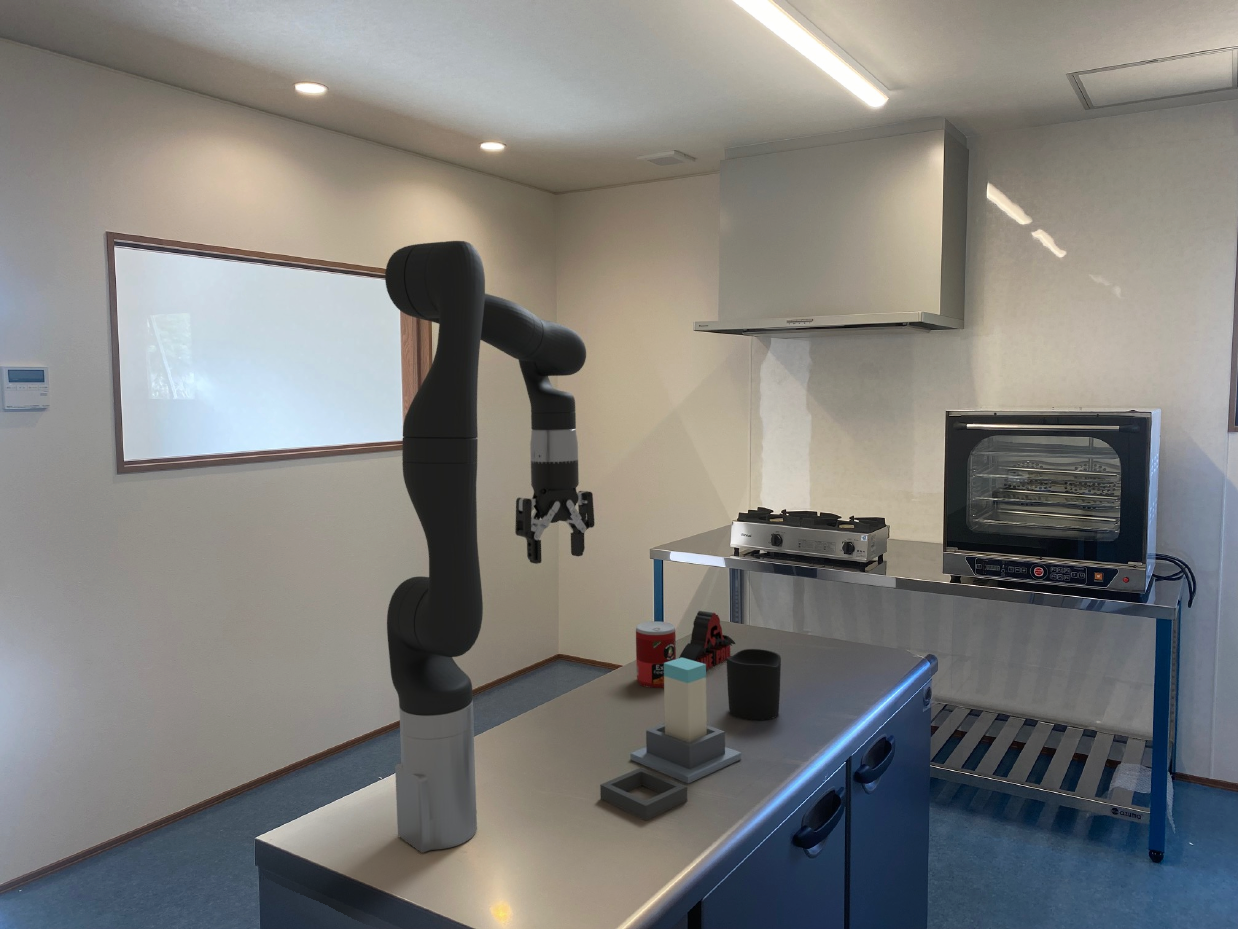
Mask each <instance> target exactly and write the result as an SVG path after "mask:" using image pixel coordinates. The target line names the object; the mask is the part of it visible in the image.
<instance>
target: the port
mask: <svg viewBox="0 0 1238 929" xmlns="http://www.w3.org/2000/svg"><path fill="white" fill-rule="evenodd" d="M645 740H646V742H645V744H646V746H645V747H643V748H640V749H637V750H635V751H633V752H630V760H631V761H633V762H636V763H638V764H641V765H643V766H645V767H648V768H650V769H653V770H654V771H657V772H659V773H662V774H664V775H666V776H669V777H671V778H673V779H676V780H679V781H680V782H683V783H685V784H691V783H692V782H694V781H697V780H699V779H702V778H703V777H705V776H707V775H710V774H712V773H714V772H717V771H718V770H720V769H723V768H725V767H727V766H730V765H732V764H733V763H736V762H738V761H740V760H742V752H741V751H738V750H735V749H732V748H729V747H726V731H724V730H721V729H719V728H716V727H713V726H710V725H709V724H708V725H707V735H706V736H704V737H701V738H699V739H696V740H694V741H692V742H686V741H683V740H681V739H678V738H675V737H673V736H670V735H667V734H665V722H664V723H661V724H659V725H655V726H654V727H650V728H648V729H646V730H645Z"/></svg>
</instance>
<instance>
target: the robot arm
mask: <svg viewBox="0 0 1238 929" xmlns="http://www.w3.org/2000/svg"><path fill="white" fill-rule="evenodd" d="M387 261H388V262H387V263H386V267H385V275H384V280H385V288H386V291H387V294H388V296H389V298H390V300H391V302H392V304H393V305H394V306H395V308H397V310H399V311H400V312H401V313H403V314H405V315H406V316H408V317H412V318H416V319H420V320H423V321H427V322H431V323H434V324H438V334H437V346H436V351H435V355H434V356H433V360H432V364H431V365H430V366H431V367H430V368H429V370H428V372H427V374H426V376H425V378H424V379H423V381H422V383H421V385H420V387H419V388H418V390H417V391H416V393H415V395H414V397H413V399H412V401H411V403H410V405H409V407H408V410H407V412H406V415H405V417H404V419H403V420H404V421H403V426H402V448H401V449H402V450H401V451H402V456H401V458H402V459H401V460H402V463H401V464H402V476H403V481H404V485H405V488H406V491H407V494H408V496H409V499H410V501H411V504H412V505H413V508H414V510H415V512H416V515H417V517H418V520H419V522H420V524H421V527H422V530H423V533H424V536H425V539H426V543H427V550H428V576H413V577H409V578H407V579H405V580H404V581H403V582H401V583H400V584H399V585H398V586H397V587H396V588H395V590H394V592H393V593H392V595H391V598H390V601H389V604H388V607H387V608H388V609H387V615H386V633H387V634H386V635H387V645H388V658H389V667H390V669H389V670H390V676H391V680H392V684H393V687H394V689H395V691H396V693H397V696H398V705H399V706H398V708H399V732H400V733H399V734H400V735H399V737H400V760H401V762H400V763H397V764H396V765H395V767H394V772H395V773H394V774H395V775H394V776H395V793H396V794H395V795H396V796H395V797H396V817H397V818H396V822H397V837H399V836H400V837H401V838H402V839H401V838H400V837H399V838H400V839H401V840H403V839H404V840H405V841H404V840H403V841H404V842H406V843H407V842H408V843H409V844H408V843H407V844H408V845H410V844H411V845H413V846H412V847H413V848H414V847H415V848H416V849H415V848H414V849H415V850H417V851H418V850H419V851H418V852H419V853H422V852H423V853H426V852H429V851H432V850H433V851H434V850H443V849H445V850H446V849H450V848H453V847H457V846H459V845H461V844H465V842H467V841H469V840H471V838H473V837H474V836H475V835H476V833H477V830H478V822H477V820H478V818H477V815H478V811H477V792H476V791H477V789H476V760H475V759H476V758H475V736H474V734H475V732H474V731H475V730H474V728H475V727H474V705H473V704H474V699H473V684H472V680H471V678H470V677H469V676H468V674H467V673H466V672H465V671H463V670H462V668H460V667H459V665H458V664H457V663H456V661H455V660H454V658H457V657H461V656H463V655H465V654H466V653H468V651H470V650H471V649H472V648H473V646H474V645H475V643H476V641H477V640H478V637H479V636H480V635H479V634H480V632H481V629H482V623H483V622H482V621H483V614H484V613H483V612H484V611H483V610H484V608H483V607H484V606H483V604H484V602H483V592H482V590H483V589H482V578H481V570H480V557H479V547H478V546H479V545H478V520H477V519H478V512H477V511H478V510H477V479H478V478H477V477H478V436H479V435H478V386H479V385H478V384H479V382H478V381H479V380H478V378H479V364H480V363H479V360H480V350H481V349H480V348H481V341H482V342H484V343H486V344H489V345H490V346H492V347H493V348H496V349H497V350H499V351H501V352H502V353H504V354H506V355H508V356H510V357H512V358H514V359H515V360H518V364H519V368H520V372H521V374H522V378H523V381H524V383H525V388H526V392H527V396H528V399H529V402H530V418H531V419H530V421H531V422H530V423H531V424H530V426H531V427H530V428H531V430H530V432H531V433H530V442H529V443H530V444H529V446H530V481H531V483H530V484H531V485H530V486H531V488H532V490H533V495H532V498H527V497H517V498H516V501H515V526H514V527H515V528H514V530H515V531H514V532H515V535H516V536H518V537H522V538H525V540H526V554H527V556H526V557H527V560H529V562H530V563H531V564H536V565H538V564H541V563H542V540H541V539H540V538H541V537H542V535H543V533H544V532H545V530H546V529H547V528H548V527H549V526H550V524H554V523H559V522H560V521H561V522H565V523H566V524H567V525H568V527H569V528H570V530H571V531H572V532H570V553H571V555H572V556H575V557H582V556H583V555H584V552H585V533H586V532H587V530H588V529H592V528H594V527H595V509H594V496H593V495H594V494H593V492H592V491H589V490H588V491H587V490H579V491H577V487H578V486H579V483H580V482H579V481H580V480H579V476H580V475H579V446H578V436H577V429H576V428H577V424H576V423H577V421H576V420H577V419H576V417H577V416H576V400H575V397H574V395H573V394H572V393H570V392H567V391H564V390H559V389H555V388H554V387H553V385H552V383H551V381H550V378H549V377H553V376H554V377H559V376H560V377H562V376H563V377H564V376H565V377H567V376H571V375H575V374H576V373H578V372H580V371H581V369H582V368H583V367H584V365H585V363H586V360H587V349H586V344H585V342H584V341H583V339H582V337H581V336H580V335H579V333H578V332H577V331H575V330H573V329H571V328H570V327H568V326H565V325H562V324H559V323H556V322H553V321H550V320H545V319H542V318H539V317H538V316H537V315H536V314H534V313H532V312H531V311H530V310H528V309H527V308H525V307H523V306H522V305H520V304H518V303H516V302H514V301H512V300H509V299H505V298H503V297H500V296H495V295H492V294H489V293H486V278H485V277H486V276H485V269H484V265H483V261H482V258H481V256H480V254H479V252H478V250H477V248H476V247H475V246H474V245H472V244H471V243H470V242H467V241H465V240H450V241H438V242H437V241H436V242H425V243H424V242H423V243H417V244H411V245H410V244H409V245H406V246H403V247H401V248H398V249H397V250H395V252H393V253H392V254H391V256H390V257H389V259H388V260H387ZM576 506H577V507H578V509H577V508H576ZM533 511H534V512H533ZM532 512H533V514H532ZM411 845H410V846H411Z"/></svg>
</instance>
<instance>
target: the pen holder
mask: <svg viewBox="0 0 1238 929" xmlns="http://www.w3.org/2000/svg"><path fill="white" fill-rule="evenodd" d="M725 661H726V676H727V677H726V679H727V696H728V697H727V698H728V700H727V701H728V710H729V712H730V714H731V715H732V716H734V717H736V718H738V719H740V720H745V721H753V722H754V721H755V722H759V721H760V720H761V721H767V720H770V719H771V720H772V719H773V717H774V718H775V717H777V715H778V714H779V713H780V712H779V711H780V696H781V695H780V694H781V693H780V691H781V668H782V666H781V665H782V664H781V663H782V662H781V661H782V657H781V655H780V654H779V653H777V652H775V651H771V650H767V649H761V648H747V649H746V648H745V649H742V650H740V651H737V652H736V653H734V654H733V655H732V656H730V657H726V659H725ZM757 720H758V721H757Z"/></svg>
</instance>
